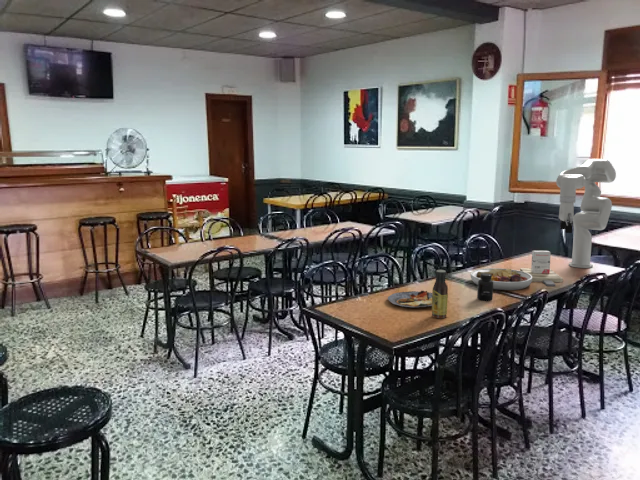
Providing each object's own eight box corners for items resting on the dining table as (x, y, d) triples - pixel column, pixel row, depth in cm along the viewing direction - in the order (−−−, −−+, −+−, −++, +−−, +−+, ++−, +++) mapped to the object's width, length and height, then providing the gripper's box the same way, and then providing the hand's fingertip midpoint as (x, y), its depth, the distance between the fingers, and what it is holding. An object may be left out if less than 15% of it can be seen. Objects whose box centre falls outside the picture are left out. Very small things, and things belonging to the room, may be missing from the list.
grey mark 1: (542, 282, 265) (542, 280, 265) (550, 283, 264) (550, 280, 264) (544, 284, 261) (544, 281, 261) (552, 285, 260) (552, 282, 260)
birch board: (520, 271, 287) (520, 268, 287) (549, 272, 285) (550, 268, 285) (530, 281, 266) (530, 277, 265) (562, 282, 264) (562, 278, 263)
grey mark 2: (546, 284, 257) (546, 286, 257) (555, 284, 256) (555, 287, 256) (545, 282, 260) (544, 284, 261) (553, 282, 260) (553, 285, 260)
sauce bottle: (429, 314, 216) (430, 268, 212) (444, 314, 216) (445, 268, 213) (434, 319, 209) (435, 272, 206) (449, 319, 210) (450, 272, 206)
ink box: (547, 271, 278) (548, 250, 276) (549, 273, 273) (551, 252, 271) (530, 271, 280) (531, 250, 277) (532, 273, 275) (534, 251, 273)
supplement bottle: (484, 302, 231) (485, 276, 229) (473, 298, 237) (474, 273, 235) (495, 300, 234) (497, 275, 232) (484, 296, 240) (485, 271, 238)
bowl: (458, 280, 273) (459, 265, 271) (506, 275, 282) (506, 261, 280) (494, 294, 245) (494, 278, 243) (545, 288, 254) (546, 273, 252)
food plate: (431, 293, 247) (431, 286, 246) (451, 308, 224) (451, 300, 223) (381, 298, 243) (381, 291, 242) (397, 313, 220) (397, 306, 219)
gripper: (555, 197, 280) (554, 228, 284) (564, 202, 264) (563, 234, 267) (570, 197, 279) (568, 227, 283) (580, 201, 262) (578, 234, 266)
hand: (565, 230), depth 275 cm, fingers open, 9 cm apart
